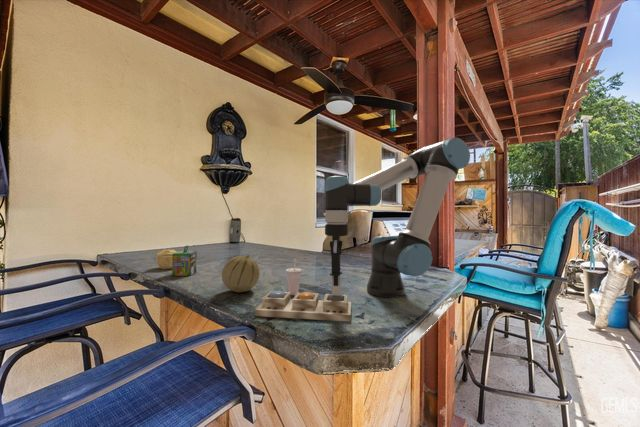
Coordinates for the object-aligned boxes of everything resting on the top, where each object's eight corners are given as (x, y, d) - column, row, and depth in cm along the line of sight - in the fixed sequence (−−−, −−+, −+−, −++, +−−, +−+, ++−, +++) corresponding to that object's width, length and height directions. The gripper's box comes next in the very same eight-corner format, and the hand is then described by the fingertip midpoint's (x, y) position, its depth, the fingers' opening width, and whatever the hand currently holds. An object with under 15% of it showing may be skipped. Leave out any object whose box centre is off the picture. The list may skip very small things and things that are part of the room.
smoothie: (298, 296, 104) (299, 260, 104) (283, 295, 105) (283, 260, 105) (303, 292, 110) (303, 257, 110) (288, 291, 112) (288, 257, 112)
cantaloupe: (216, 290, 112) (217, 254, 112) (250, 284, 121) (250, 251, 121) (229, 299, 100) (229, 259, 100) (265, 292, 109) (265, 255, 109)
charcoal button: (343, 301, 91) (343, 293, 91) (342, 306, 86) (342, 298, 86) (328, 300, 92) (328, 293, 92) (327, 305, 87) (327, 297, 87)
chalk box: (179, 272, 144) (179, 244, 143) (196, 272, 145) (197, 244, 144) (171, 276, 134) (171, 246, 134) (190, 276, 135) (190, 246, 135)
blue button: (286, 298, 94) (286, 291, 94) (282, 303, 89) (282, 295, 89) (272, 297, 94) (272, 290, 94) (267, 302, 90) (267, 294, 90)
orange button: (314, 299, 93) (314, 292, 93) (312, 304, 88) (312, 297, 88) (300, 299, 93) (300, 291, 93) (297, 303, 88) (297, 296, 88)
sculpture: (154, 271, 146) (154, 251, 146) (159, 266, 157) (159, 248, 157) (177, 269, 150) (177, 250, 150) (181, 265, 161) (181, 247, 161)
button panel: (350, 307, 93) (351, 294, 93) (350, 321, 81) (350, 306, 81) (266, 303, 97) (267, 290, 97) (254, 315, 85) (254, 301, 85)
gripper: (327, 222, 96) (326, 288, 96) (322, 224, 83) (322, 300, 83) (348, 222, 95) (347, 289, 95) (347, 224, 82) (346, 301, 82)
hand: (336, 294), depth 89 cm, fingers closed
